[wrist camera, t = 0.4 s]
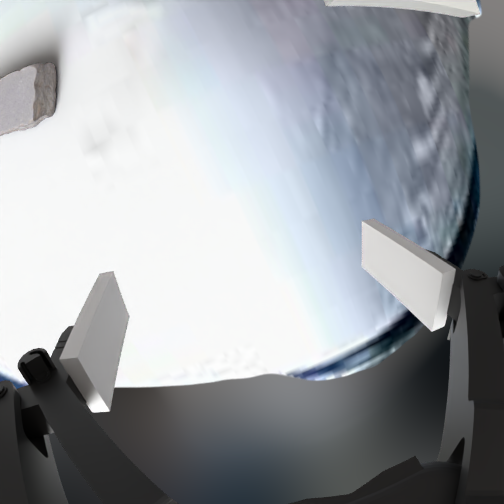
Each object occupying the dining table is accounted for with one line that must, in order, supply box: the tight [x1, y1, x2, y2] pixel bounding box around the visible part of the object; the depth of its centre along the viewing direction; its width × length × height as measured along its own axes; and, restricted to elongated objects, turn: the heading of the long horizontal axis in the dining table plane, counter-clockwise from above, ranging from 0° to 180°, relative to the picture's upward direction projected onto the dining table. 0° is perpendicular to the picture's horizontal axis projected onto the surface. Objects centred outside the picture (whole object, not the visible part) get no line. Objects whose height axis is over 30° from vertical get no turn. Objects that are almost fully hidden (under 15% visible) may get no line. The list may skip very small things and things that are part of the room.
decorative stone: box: [0, 63, 57, 136], centre depth 28 cm, size 15×7×10 cm
